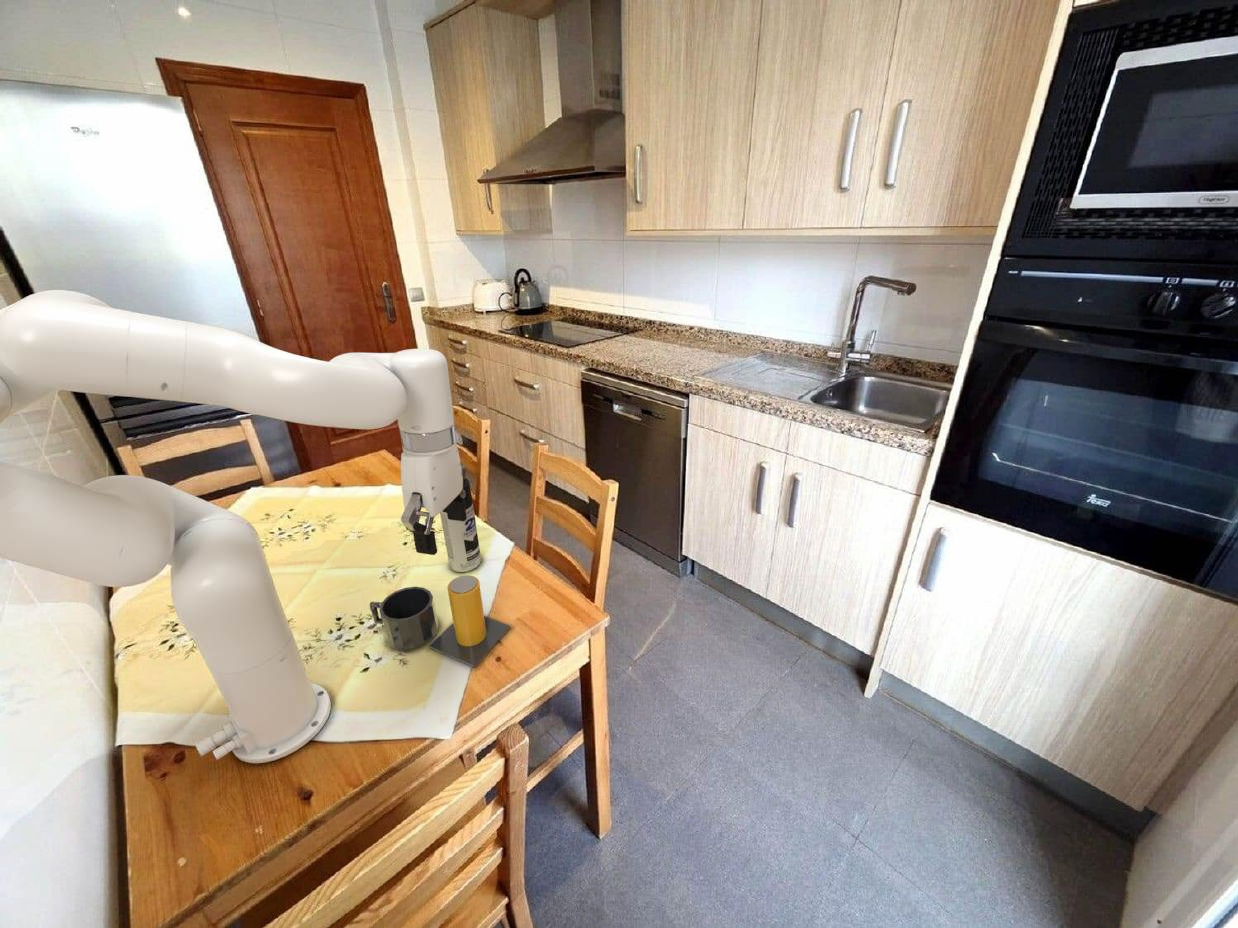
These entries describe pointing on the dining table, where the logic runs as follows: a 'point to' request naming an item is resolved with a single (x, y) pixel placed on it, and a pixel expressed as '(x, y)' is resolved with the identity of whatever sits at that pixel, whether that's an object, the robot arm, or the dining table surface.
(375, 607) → the mug
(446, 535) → the spray can
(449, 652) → the coaster
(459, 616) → the can
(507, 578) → the dining table surface
